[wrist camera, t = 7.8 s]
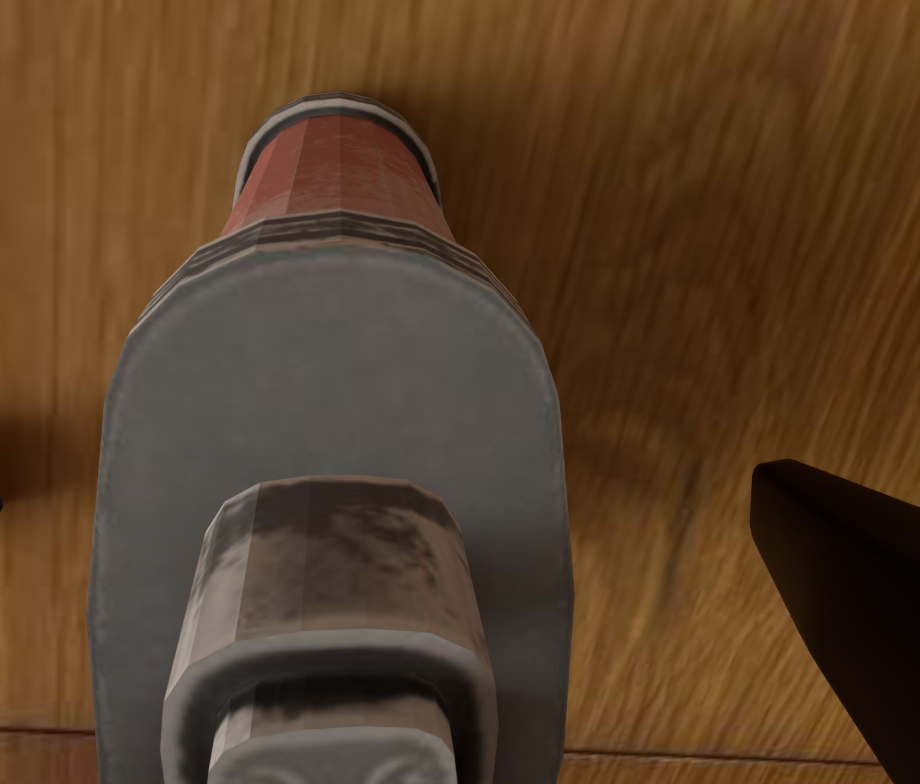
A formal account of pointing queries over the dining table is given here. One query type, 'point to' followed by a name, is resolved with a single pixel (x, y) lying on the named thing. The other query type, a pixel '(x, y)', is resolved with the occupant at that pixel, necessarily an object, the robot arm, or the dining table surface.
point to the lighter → (331, 491)
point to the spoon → (1, 504)
